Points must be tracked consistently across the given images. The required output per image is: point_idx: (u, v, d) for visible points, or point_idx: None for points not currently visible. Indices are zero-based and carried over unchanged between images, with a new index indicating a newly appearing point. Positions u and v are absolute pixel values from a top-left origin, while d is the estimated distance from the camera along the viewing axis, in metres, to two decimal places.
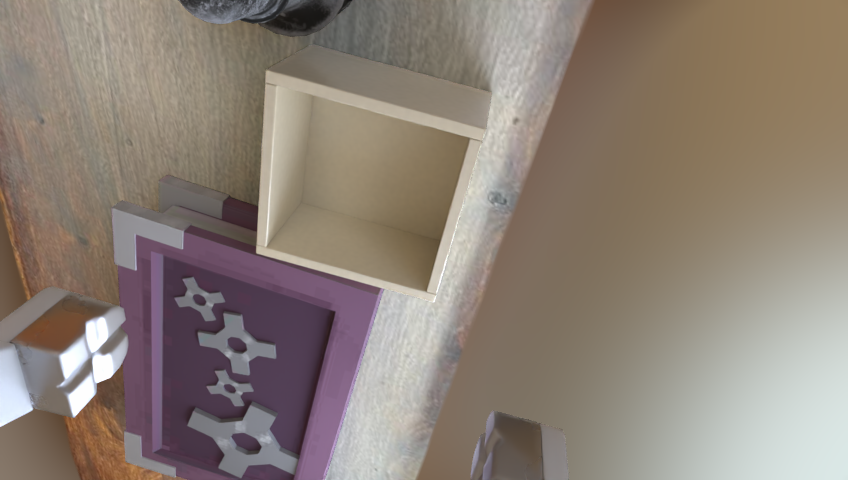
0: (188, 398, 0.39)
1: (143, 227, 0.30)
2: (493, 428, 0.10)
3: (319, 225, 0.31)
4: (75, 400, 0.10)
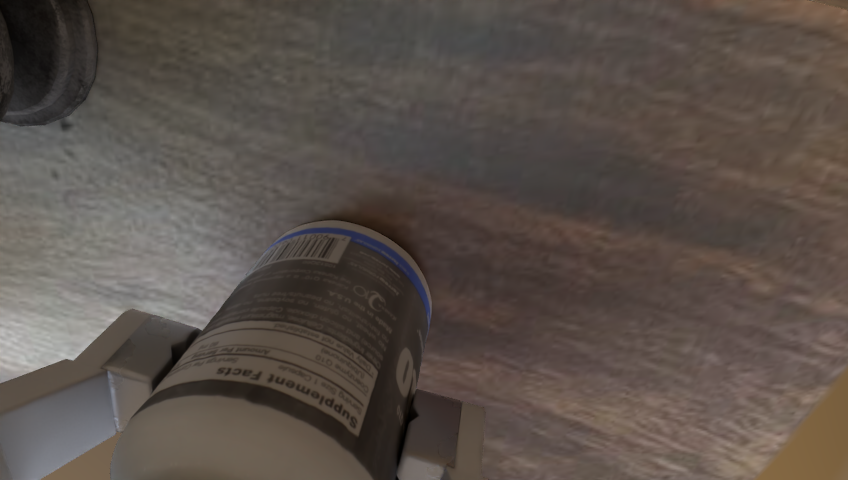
0: None
1: None
2: (412, 405, 0.10)
3: None
4: None
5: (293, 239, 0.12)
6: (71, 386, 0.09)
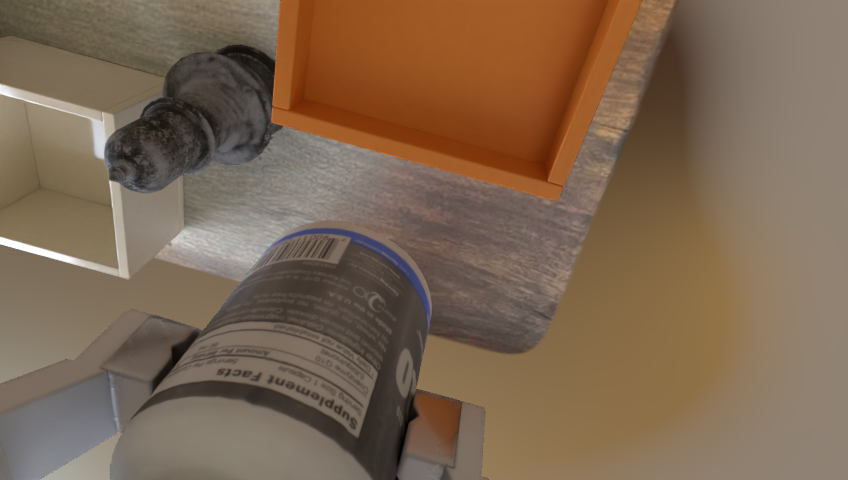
0: None
1: None
2: (412, 405, 0.10)
3: None
4: None
5: (293, 240, 0.12)
6: (71, 386, 0.09)
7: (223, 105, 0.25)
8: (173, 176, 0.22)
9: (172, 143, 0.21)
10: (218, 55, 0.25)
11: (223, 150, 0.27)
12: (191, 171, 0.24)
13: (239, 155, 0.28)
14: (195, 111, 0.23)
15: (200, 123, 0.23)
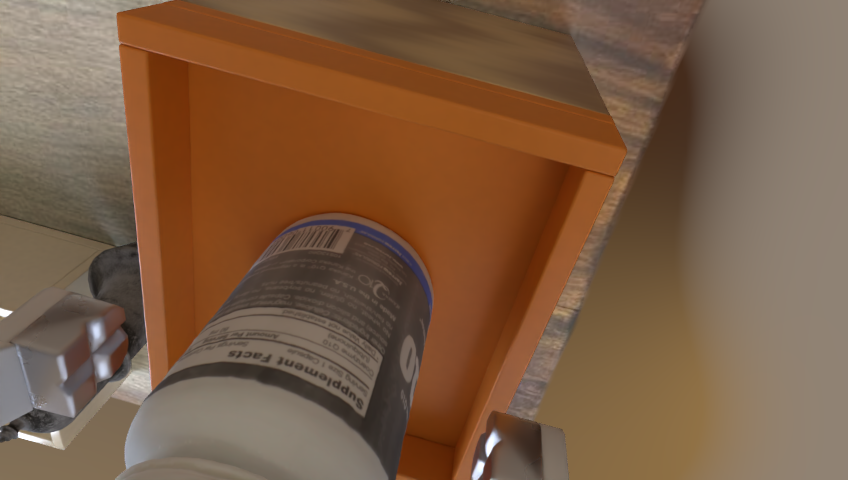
0: None
1: None
2: (493, 428, 0.10)
3: None
4: (75, 400, 0.10)
5: (298, 230, 0.12)
6: None
7: None
8: (77, 414, 0.20)
9: None
10: None
11: None
12: (108, 381, 0.23)
13: None
14: None
15: None
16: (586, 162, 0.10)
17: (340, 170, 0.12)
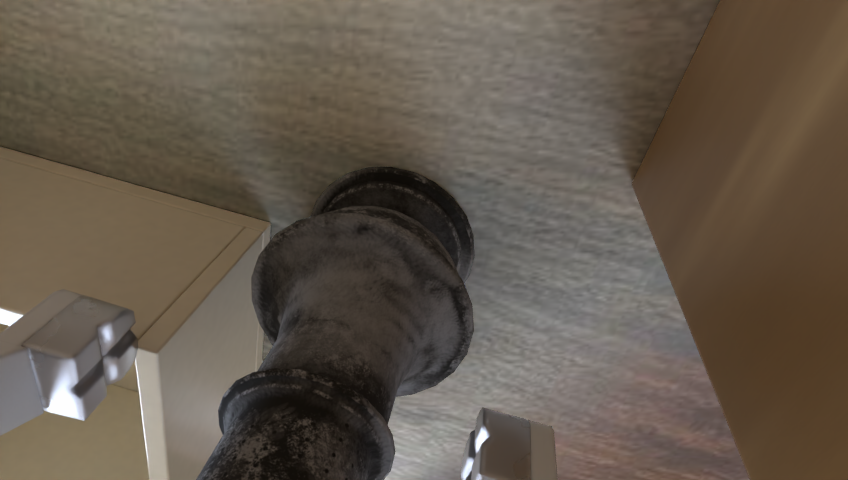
0: None
1: None
2: (482, 425, 0.10)
3: None
4: (86, 403, 0.10)
5: None
6: None
7: (393, 337, 0.11)
8: None
9: None
10: (378, 221, 0.12)
11: None
12: None
13: None
14: (360, 404, 0.09)
15: (369, 429, 0.09)
16: None
17: None
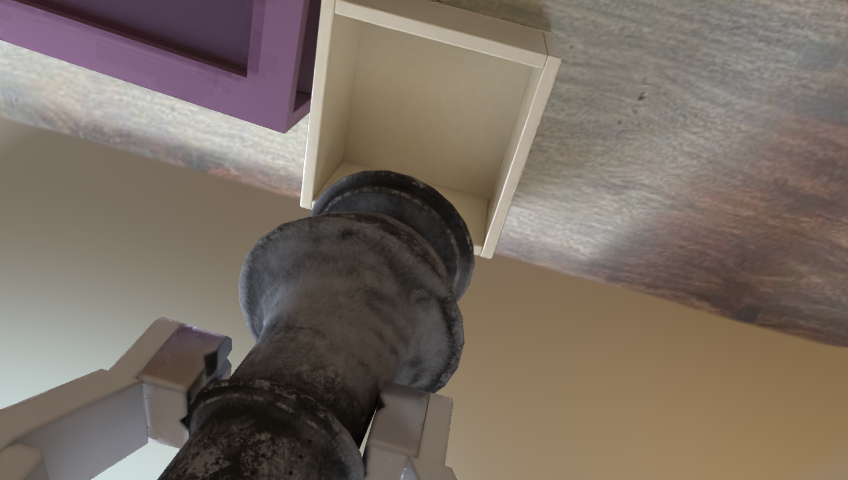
0: None
1: None
2: (380, 396, 0.10)
3: (350, 42, 0.26)
4: None
5: None
6: (108, 397, 0.09)
7: (374, 348, 0.11)
8: None
9: None
10: (363, 227, 0.11)
11: None
12: None
13: None
14: (324, 420, 0.09)
15: (334, 446, 0.09)
16: None
17: None
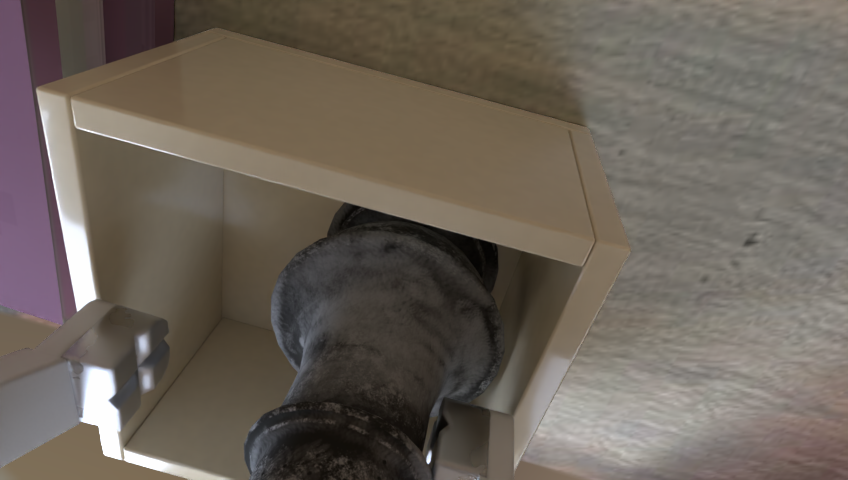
0: None
1: None
2: (442, 414, 0.10)
3: None
4: (122, 413, 0.10)
5: None
6: (30, 375, 0.09)
7: (425, 361, 0.11)
8: None
9: None
10: (406, 239, 0.11)
11: None
12: None
13: None
14: (398, 439, 0.09)
15: (407, 465, 0.09)
16: None
17: None
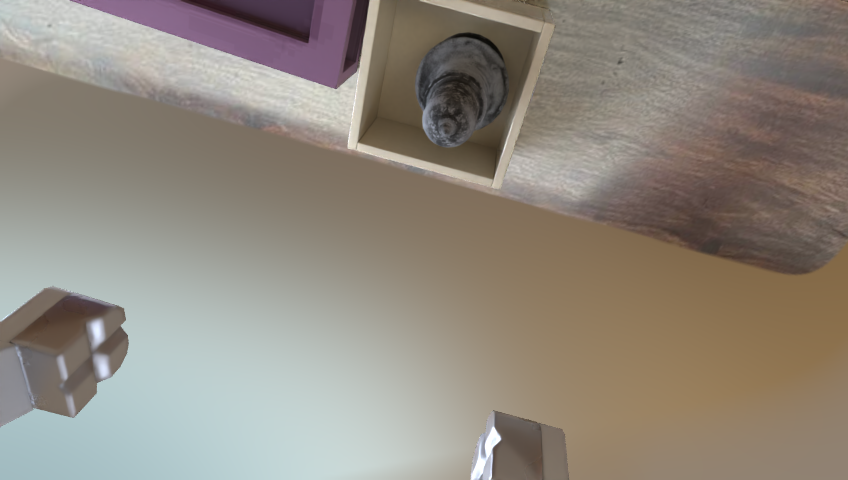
0: None
1: None
2: (493, 428, 0.10)
3: (389, 16, 0.32)
4: (75, 400, 0.10)
5: None
6: None
7: (481, 80, 0.30)
8: (472, 133, 0.27)
9: (475, 106, 0.27)
10: (473, 39, 0.31)
11: None
12: None
13: None
14: (477, 82, 0.28)
15: (480, 92, 0.28)
16: None
17: None
